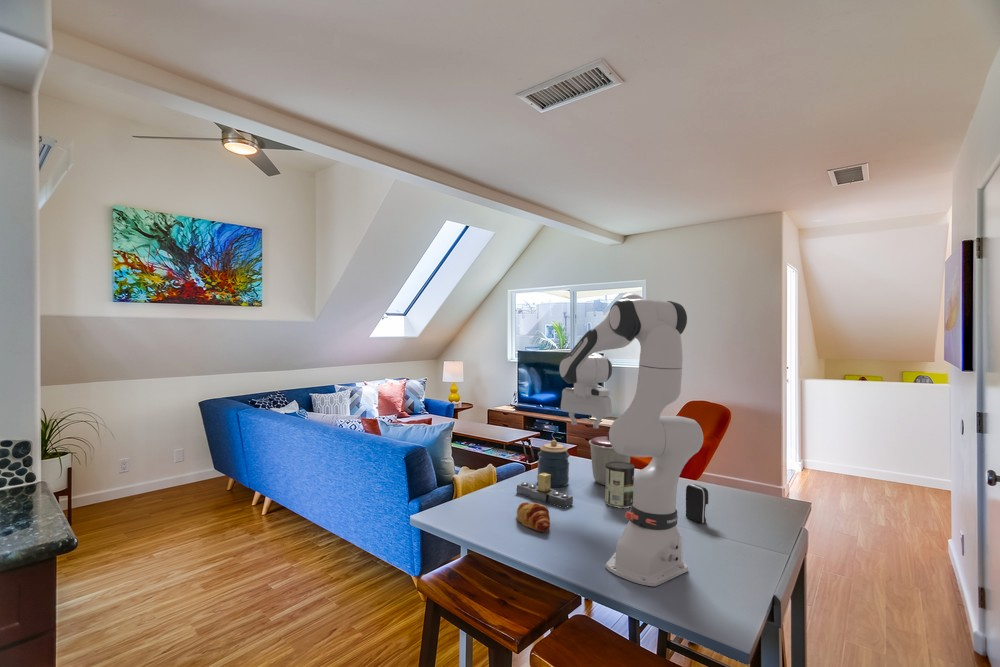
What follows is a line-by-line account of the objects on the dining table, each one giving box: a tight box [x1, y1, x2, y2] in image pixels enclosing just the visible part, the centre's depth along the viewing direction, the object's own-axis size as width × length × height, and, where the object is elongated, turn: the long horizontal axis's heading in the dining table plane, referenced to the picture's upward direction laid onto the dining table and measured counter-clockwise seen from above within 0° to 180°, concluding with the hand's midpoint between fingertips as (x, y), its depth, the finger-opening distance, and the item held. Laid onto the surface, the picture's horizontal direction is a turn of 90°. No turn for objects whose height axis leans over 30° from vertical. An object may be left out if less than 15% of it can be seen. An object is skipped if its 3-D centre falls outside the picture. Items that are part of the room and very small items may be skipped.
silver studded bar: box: [516, 481, 574, 509], centre depth 176 cm, size 7×22×4 cm, turn 48°
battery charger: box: [685, 483, 709, 524], centre depth 159 cm, size 7×4×11 cm, turn 26°
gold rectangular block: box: [537, 473, 551, 493], centre depth 176 cm, size 3×3×9 cm
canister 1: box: [536, 439, 571, 488], centre depth 195 cm, size 13×13×18 cm
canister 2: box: [588, 432, 631, 486], centre depth 198 cm, size 18×18×21 cm
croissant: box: [516, 502, 551, 533], centre depth 154 cm, size 21×10×8 cm, turn 20°
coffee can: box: [604, 461, 636, 509], centre depth 173 cm, size 10×10×14 cm
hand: (584, 426), depth 178 cm, fingers open, 8 cm apart
